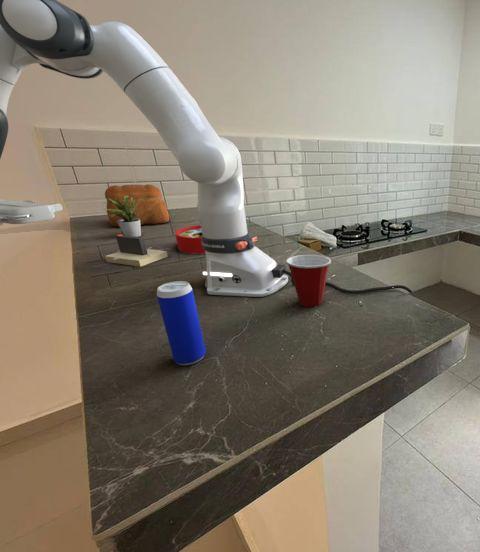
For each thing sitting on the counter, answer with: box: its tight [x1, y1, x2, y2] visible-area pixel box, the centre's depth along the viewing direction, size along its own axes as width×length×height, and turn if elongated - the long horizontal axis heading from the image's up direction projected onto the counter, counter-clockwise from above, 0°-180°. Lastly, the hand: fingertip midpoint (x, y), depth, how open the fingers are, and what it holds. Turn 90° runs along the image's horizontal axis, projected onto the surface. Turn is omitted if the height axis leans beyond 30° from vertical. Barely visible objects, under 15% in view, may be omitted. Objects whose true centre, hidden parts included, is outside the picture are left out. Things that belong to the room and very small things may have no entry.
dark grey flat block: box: [115, 233, 148, 255], centre depth 105 cm, size 9×2×6 cm, turn 78°
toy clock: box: [174, 224, 206, 255], centre depth 122 cm, size 20×6×20 cm
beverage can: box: [156, 280, 207, 366], centre depth 58 cm, size 5×5×15 cm
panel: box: [104, 246, 169, 267], centre depth 106 cm, size 14×13×2 cm
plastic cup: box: [286, 254, 332, 308], centre depth 82 cm, size 11×11×12 cm
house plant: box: [102, 195, 146, 237], centre depth 127 cm, size 14×14×16 cm
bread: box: [104, 183, 170, 228], centre depth 145 cm, size 18×22×17 cm
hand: (46, 205), depth 85 cm, fingers open, 8 cm apart
